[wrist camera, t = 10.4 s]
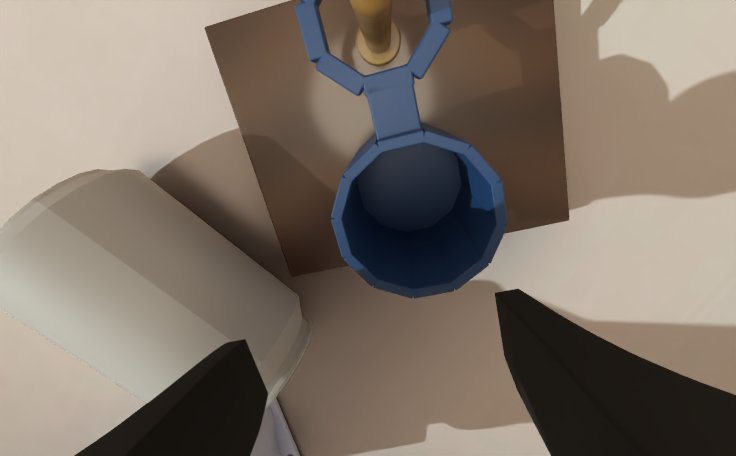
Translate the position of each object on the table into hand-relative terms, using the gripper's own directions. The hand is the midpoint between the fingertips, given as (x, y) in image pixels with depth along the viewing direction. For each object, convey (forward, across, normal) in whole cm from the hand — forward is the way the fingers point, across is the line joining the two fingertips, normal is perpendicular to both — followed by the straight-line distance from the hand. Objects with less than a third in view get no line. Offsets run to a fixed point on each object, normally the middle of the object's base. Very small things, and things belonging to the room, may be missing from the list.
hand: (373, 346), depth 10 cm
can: (+6, +13, -5) cm, 15 cm away
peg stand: (+9, -2, -5) cm, 11 cm away
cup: (+8, -2, -5) cm, 10 cm away
